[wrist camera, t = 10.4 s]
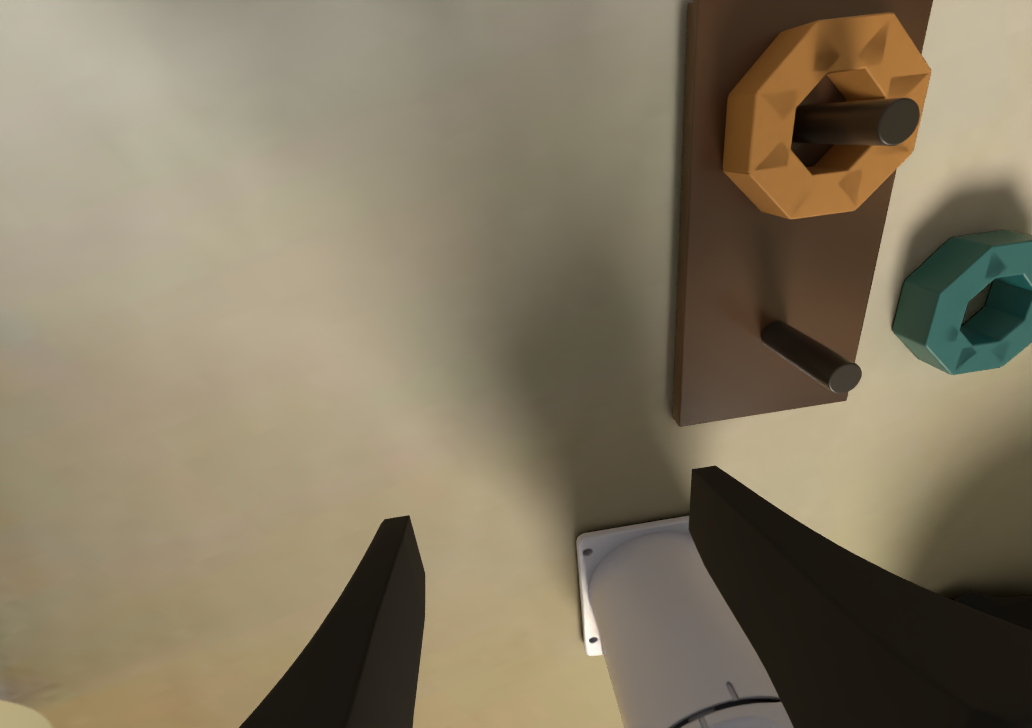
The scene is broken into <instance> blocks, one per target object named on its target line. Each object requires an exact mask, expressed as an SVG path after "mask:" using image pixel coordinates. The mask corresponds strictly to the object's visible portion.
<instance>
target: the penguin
mask: <svg viewBox="0 0 1032 728" xmlns="http://www.w3.org/2000/svg"><path fill="white" fill-rule="evenodd" d="M953 601H955V602H958V603H960V604H963V605H965V606H968V607H970V608H973V609H975V610H978V611H980V612H983V613H986V614H988V615H991V616H994V617H996V618H999V619H1001V620H1004V621H1007V622H1009V623H1012V624H1015V625H1017V626H1020V627H1023V628H1026V629H1029V630H1032V596H1008V597H993V596H989V595H985V594H980V593H976V592H972V591H971V592H969V593H967V594H965V595H963V596H961V597H959V598H957V599H955V600H953Z"/></svg>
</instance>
